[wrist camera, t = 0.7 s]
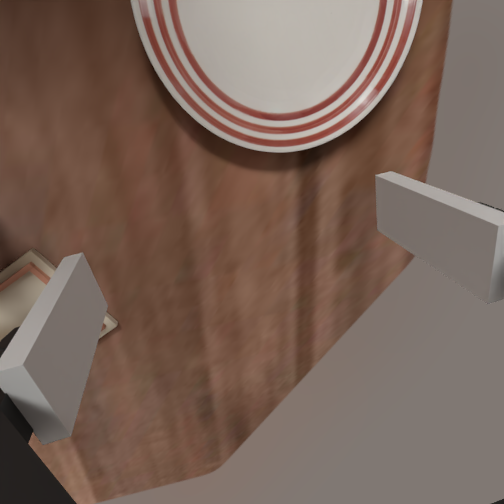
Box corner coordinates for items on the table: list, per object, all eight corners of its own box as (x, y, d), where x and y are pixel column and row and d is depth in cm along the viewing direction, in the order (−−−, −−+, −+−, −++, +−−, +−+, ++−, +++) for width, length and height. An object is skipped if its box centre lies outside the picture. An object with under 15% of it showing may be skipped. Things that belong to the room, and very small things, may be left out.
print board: (-57, 314, 39) (-65, 321, 38) (33, 247, 38) (28, 252, 37) (38, 378, 45) (34, 386, 43) (118, 322, 44) (116, 328, 42)
